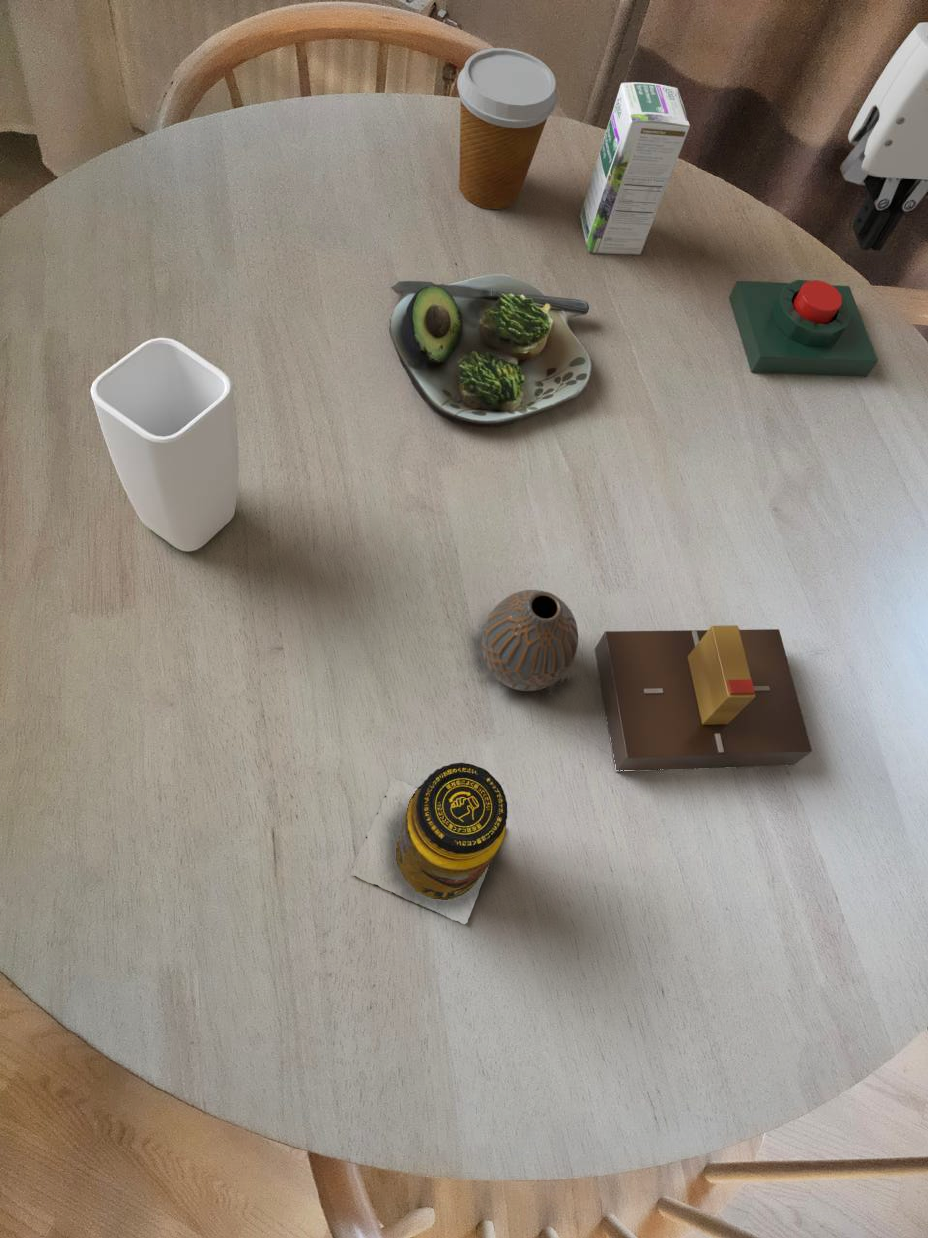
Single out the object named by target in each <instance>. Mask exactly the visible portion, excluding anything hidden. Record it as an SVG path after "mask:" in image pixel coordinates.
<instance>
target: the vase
mask: <svg viewBox="0 0 928 1238" xmlns="http://www.w3.org/2000/svg"><path fill="white" fill-rule="evenodd" d="M578 646H579V629H578V625H577V621H576V617H575V616H574V614H573V612H572V610H571V609H570V607H569V606H568V605H567V604H566V603H565V602H564V601H563V600H562V599H560V598H559V597H558V596H556V595H555V594H554V593H551V592H549V591H544V590H541V589H525V590H521V591H517V592H514V593H512V594H510V595H508V596H506V597H505V598H504V599H502V600H501V601H500V602H499V603H498V604H497V605H495V607H494V608H493V609H492V611H491V612H490V614H489V615H488V617H487V620H486V621H485V624H484V627H483V630H482V634H481V650H482V656H483V659H484V662H485V665H486V667H487V669H488V670H489V672H490V673H491V674H492V676H493V677H494V678H495V679H496V680H497V681H498V682H500V683H501V684H503V685H504V686H505V687H508V688H509V689H512V690H517V691H522V692H534V691H535V692H536V691H540V690H543V689H545V688H548V687H550V686H552V685H553V684H554V683H556V682H557V681H559V680H561V678H562V677H564V675H566V673H567V672H568V670H569V669H570V667H571V666H572V664H573V662H574V661H575V657H576V655H577V651H578Z"/></svg>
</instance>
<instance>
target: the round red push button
mask: <svg viewBox="0 0 928 1238" xmlns="http://www.w3.org/2000/svg"><path fill="white" fill-rule="evenodd" d="M810 280H811V279H810ZM832 285H833V284H830V283H829V282H826V281H823V280H817V279H813V280H811V281H808V282H806V283H805V284H803V286H802V287H801V289H800V291H799V293H798V294H797V296H796V298H795V300H794V304H793V305H794V309H795V311H796V312H797V313H798V314H800V315H801V316H802V317H803V318H804V319H806V320H809V321H811V322H813V323H817V324H826V323H828V322H830V321H831V320H832V319H833V317H834V315H835V314H836V312H837V311H838V309H839V308H840V306H841V304H842V297H841V295H840V293H839V292H838V290H837V289H836V288H834V287H833V286H832Z"/></svg>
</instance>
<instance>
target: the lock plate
mask: <svg viewBox="0 0 928 1238" xmlns="http://www.w3.org/2000/svg"><path fill="white" fill-rule="evenodd" d="M708 630H709V629H691V630H690V629H689V630H688V629H687V630H683V629H681V630H627V631H626V630H620V631H619V630H618V631H617V630H614V631H613V630H612V631H611V630H610V631H609V630H608V631H604V632H603V634H602V636H601V638H600V640H598V642H597V645H596V646H595V648H594V653H595V659H596V666H597V672H598V677H599V678H598V679H599V683H601V684H600V689H602V690H601V695H602V701H604V702H603V707H604V712H606V713H605V718H606V717H607V719H606V723H607V722H608V725H607V729H608V728H609V731H608V735H609V734H610V737H611V743H612V749H613V754H614V760H615V764H616V770H619V771H620V770H623V771H624V770H656V771H666V770H665V769H683V770H704V769H703V768H709V769H727V768H726V767H736V768H758V767H759V766H762V767H785V765H788V766H795V765H797V764H798V763H799V762H801V761H802V760H803V759H804V758H806V757H807V756H808V755H809V754H811V753H812V752H813V749H812V745H811V741H810V738H809V735H808V731H807V727H806V723H805V719H804V716H803V713H802V708H801V705H800V701H799V697H798V694H797V690H796V686H795V683H794V678H793V675H792V672H791V671H792V670H791V669H790V665H789V661H788V657H787V653H786V649H785V646H784V642H783V638H782V635H781V631H780V629H779V628H774V629H773V628H769V629H767V628H766V629H764V628H763V629H761V628H760V629H739V632H740V636H741V640H742V644H743V648H744V652H745V656H746V660H747V664H748V668H749V672H750V676H751V680H752V684H753V688H754V692H755V698H754V699H753V700H752V701H751V702H750V703H749V704H748V705H747V706H746V707H745V708H744V709H743V710H742V711H741V712H740V713H739V714H738V715H737V716H736V717H735V718H734V719H732V720H731V721H730V722H729V723H728V724H715V725H702V721H701V717H700V712H699V707H698V703H697V698H696V694H695V689H694V685H693V680H692V675H691V671H690V666H689V662H688V655H689V654H690V653H691V652H692V650H693V649H694V648H695V646H696V645H697V644H698V643H699V641H700V640H701V639H702V638H703V636H704V635H705V634H706V632H707V631H708ZM610 737H609V738H610ZM611 743H610V744H611ZM612 749H611V750H612ZM782 765H783V766H782ZM755 766H756V767H755ZM757 766H758V767H757ZM695 768H696V769H695ZM698 768H699V769H698ZM700 768H702V769H700ZM660 769H661V770H660ZM662 769H664V770H662Z"/></svg>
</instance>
